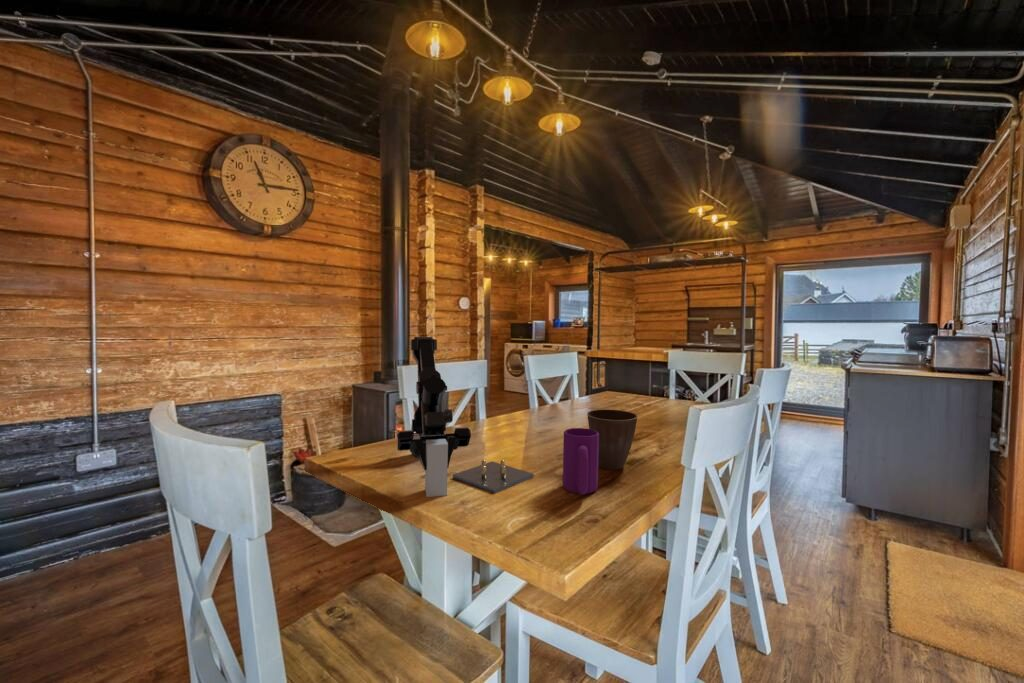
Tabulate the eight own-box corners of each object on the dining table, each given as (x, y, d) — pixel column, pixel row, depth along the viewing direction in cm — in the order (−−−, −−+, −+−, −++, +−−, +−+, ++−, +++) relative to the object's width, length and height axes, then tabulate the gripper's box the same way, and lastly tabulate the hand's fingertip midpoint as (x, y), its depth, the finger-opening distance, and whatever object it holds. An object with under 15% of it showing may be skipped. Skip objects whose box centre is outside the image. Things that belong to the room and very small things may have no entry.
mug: (595, 482, 119) (596, 428, 119) (603, 506, 104) (604, 444, 103) (562, 481, 120) (563, 427, 119) (564, 504, 105) (565, 442, 104)
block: (425, 489, 112) (425, 439, 112) (444, 487, 114) (445, 438, 113) (426, 497, 108) (427, 445, 107) (447, 495, 109) (447, 444, 108)
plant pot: (634, 477, 124) (635, 421, 123) (582, 470, 129) (583, 417, 128) (637, 461, 138) (639, 411, 137) (590, 456, 143) (591, 408, 142)
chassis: (452, 478, 121) (452, 463, 121) (492, 464, 133) (492, 450, 133) (494, 493, 111) (494, 477, 110) (533, 477, 123) (533, 462, 123)
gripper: (397, 399, 111) (398, 455, 101) (470, 397, 116) (477, 450, 106) (397, 423, 119) (397, 477, 109) (464, 420, 124) (471, 471, 114)
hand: (436, 468), depth 109 cm, fingers closed on block, 5 cm apart
